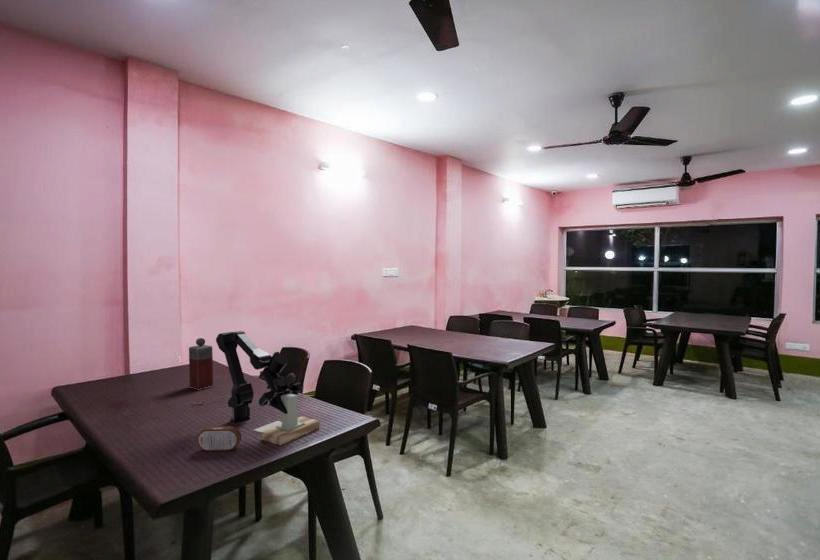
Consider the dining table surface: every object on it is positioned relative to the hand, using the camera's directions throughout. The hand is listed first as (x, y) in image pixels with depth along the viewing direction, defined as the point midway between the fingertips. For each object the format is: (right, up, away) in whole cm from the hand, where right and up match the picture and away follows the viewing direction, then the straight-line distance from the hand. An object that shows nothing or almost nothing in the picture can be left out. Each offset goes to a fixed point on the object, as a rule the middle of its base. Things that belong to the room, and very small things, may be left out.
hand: (292, 411), depth 164 cm
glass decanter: (-72, -9, +71) cm, 101 cm away
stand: (-1, -9, +1) cm, 9 cm away
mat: (-9, -9, +6) cm, 14 cm away
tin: (-22, -10, -14) cm, 28 cm away
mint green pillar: (-1, -7, +1) cm, 7 cm away
